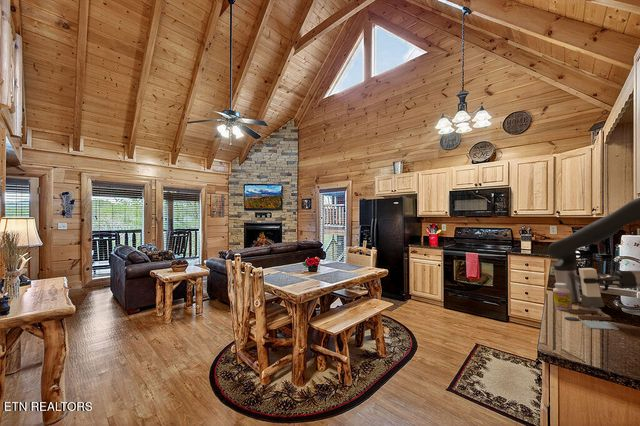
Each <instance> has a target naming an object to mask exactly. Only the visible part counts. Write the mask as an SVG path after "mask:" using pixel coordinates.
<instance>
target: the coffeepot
mask: <svg viewBox="0 0 640 426" xmlns="http://www.w3.org/2000/svg"><path fill="white" fill-rule="evenodd" d="M579 276H580V274H578V275H577V276H574V277H573V278H574V279H575V280H576V281H577V282H578V285H579V288H580V289H581V290H582V286H581V281H579V280H578V277H579ZM609 286H610V285H604V288H602V289H601V285H600V284H599V288H600V289H601V291H603V292H607V291H608V290H609ZM580 300H581V302H580V303H581V305H582V306H584V307H588V306H589V307H588V308H591V306H596V307H598V308H604V307H605V303H604V301H603V298H602V296H601V297H587V296H585V295H583V292H582V291H581V298H580Z"/></svg>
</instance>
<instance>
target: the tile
mask: <svg viewBox="0 0 640 426" xmlns="http://www.w3.org/2000/svg"><path fill="white" fill-rule="evenodd" d="M579 321H580V322H581V323H582V324H583V325H585V326H586V327H587V328H589V329H596V330H610V331H611V329H613V331H615V330H616V331H619V330H620V328H618V327H616V326H615V325H613V324H611V323H610V322H608V321H600V320H598V321H597V320H593V321H592V320H579ZM580 322H579V323H580Z"/></svg>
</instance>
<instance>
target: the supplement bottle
mask: <svg viewBox="0 0 640 426" xmlns="http://www.w3.org/2000/svg"><path fill="white" fill-rule="evenodd" d="M566 287H567V285H566V284H565V283H556V282H555V283H554V288H553V289H552V292H553V300H554V307H555V309H557V310H560V311H569V309H573V304H572V303H573V302H571V295H570V290H569V289H567V288H566Z"/></svg>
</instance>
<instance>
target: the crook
mask: <svg viewBox="0 0 640 426" xmlns="http://www.w3.org/2000/svg"><path fill="white" fill-rule="evenodd" d="M577 309H584V310H599V311H601V312H602V309H601V307H596V306H591V307H577Z"/></svg>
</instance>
